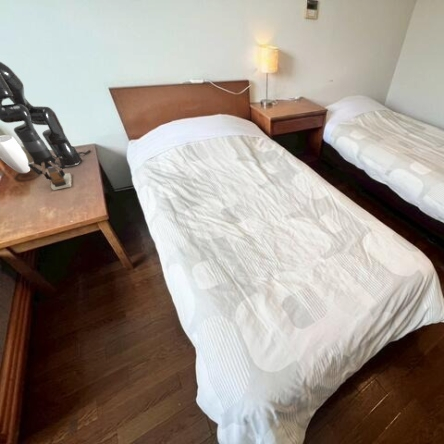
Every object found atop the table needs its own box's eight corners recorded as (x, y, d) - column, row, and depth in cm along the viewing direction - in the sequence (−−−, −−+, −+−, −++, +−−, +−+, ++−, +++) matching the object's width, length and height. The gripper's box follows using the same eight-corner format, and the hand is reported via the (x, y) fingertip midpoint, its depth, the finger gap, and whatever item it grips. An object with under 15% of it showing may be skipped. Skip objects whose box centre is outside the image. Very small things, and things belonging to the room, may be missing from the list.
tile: (53, 179, 138) (51, 176, 137) (71, 175, 142) (69, 172, 141) (53, 190, 131) (50, 187, 130) (71, 186, 135) (69, 183, 134)
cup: (39, 168, 144) (13, 133, 130) (41, 177, 139) (14, 140, 124) (15, 174, 139) (-15, 137, 124) (16, 182, 133) (-15, 145, 119)
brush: (53, 180, 134) (44, 168, 129) (64, 177, 137) (56, 165, 132) (55, 187, 130) (46, 175, 125) (67, 184, 132) (59, 172, 127)
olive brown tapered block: (35, 164, 147) (23, 146, 140) (28, 163, 147) (15, 146, 140) (42, 159, 151) (30, 142, 144) (35, 159, 151) (22, 142, 144)
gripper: (54, 141, 126) (71, 170, 137) (16, 148, 118) (38, 178, 129) (56, 147, 122) (74, 176, 133) (17, 154, 114) (40, 185, 126)
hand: (56, 177), depth 131 cm, fingers closed on brush, 5 cm apart
